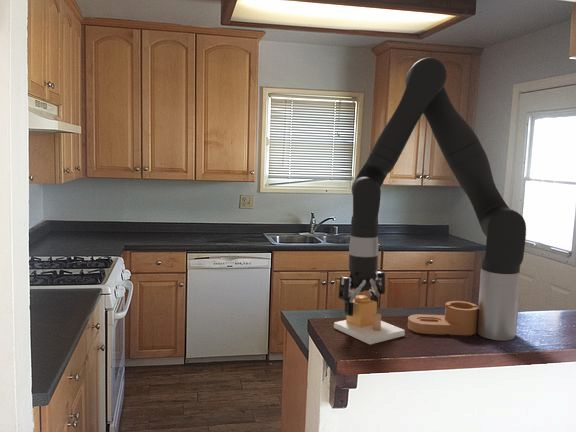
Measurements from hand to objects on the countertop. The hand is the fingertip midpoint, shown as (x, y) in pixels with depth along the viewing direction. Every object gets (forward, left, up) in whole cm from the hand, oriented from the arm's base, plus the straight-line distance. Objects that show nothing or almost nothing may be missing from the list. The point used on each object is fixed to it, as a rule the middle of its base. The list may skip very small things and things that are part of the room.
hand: (361, 312), depth 137 cm
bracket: (-18, +12, -5) cm, 22 cm away
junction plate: (0, +3, -4) cm, 5 cm away
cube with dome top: (0, 0, -3) cm, 3 cm away
